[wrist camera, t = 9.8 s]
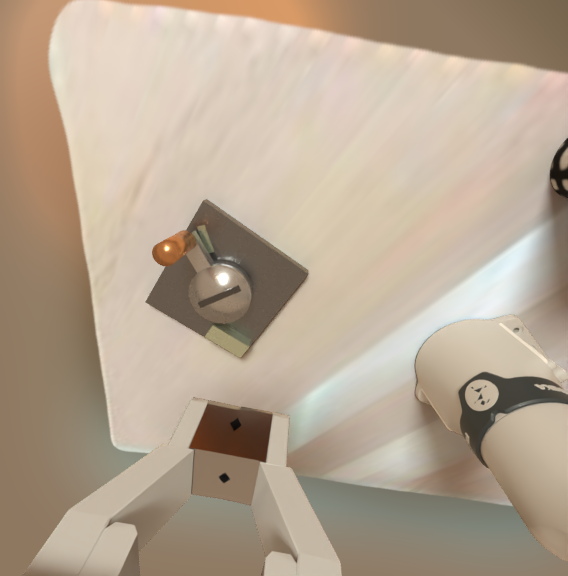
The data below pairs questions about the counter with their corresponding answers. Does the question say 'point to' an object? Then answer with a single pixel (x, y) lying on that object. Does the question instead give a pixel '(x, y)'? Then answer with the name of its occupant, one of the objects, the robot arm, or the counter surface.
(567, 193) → the spotted tube
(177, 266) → the plate
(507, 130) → the counter surface
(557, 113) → the counter surface
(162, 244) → the copper silver knob
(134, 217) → the counter surface
